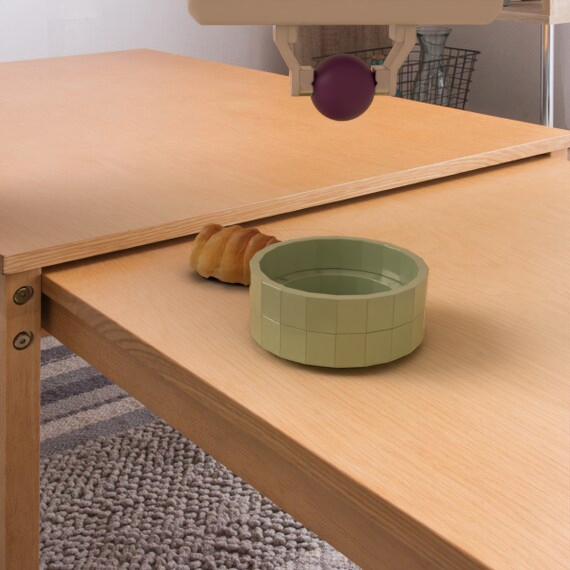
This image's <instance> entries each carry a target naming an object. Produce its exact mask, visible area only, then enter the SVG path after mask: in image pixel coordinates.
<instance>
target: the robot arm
mask: <svg viewBox="0 0 570 570" xmlns="http://www.w3.org/2000/svg"><path fill="white" fill-rule="evenodd" d="M504 1H505V0H186V10H187V13H188V15H189V16H190V17H191V18H192V19H193V20H194V21H195V22H196V24H198V25H200V26H272V41H273V42H274V44H275V46H276V48H277V50H278V51H279V53H280V55H281V57H282V58H283V61H284V62H285V64H286V67H288V79H289V80H288V88H289V89H288V90H289V95H290V97H292V98H293V97H294V98H295V97H297V98H298V97H310V96H313V93H314V87H313V85H312V82H313V81H314V70H315V68H313V67H312V65H300V63H299V60H297V58H296V56H295V54H294V52H293V50H292V48H291V47H290V44H296V43H297V41H298V26H388V38H389V39H390V40H392V41H394V42H395V43H394V44H393V46H392V47H391V49H390V51H389V53H388V54H387V56H386V58H385V60H384V62H383V63H382V64H380V65H379V64H378V65H375V64H374V65H370V69H371V71H372V73H373V75H374V79H375V94H374V97H375V96H380V97H381V96H383V97H384V96H389V97H390V96H391V97H392V96H393V97H394V96H396V94H397V87H398V86H397V84H398V71H399V70H400V69H401V67H402V66H403V64H404V62H405V61H406V59H407V58H408V56H409V55H410V53H411V51H412V50H413V48H414V47H415V45H416V44H417V32H418V31H417V30H418V25H419V26H423V25H424V26H425V25H426V26H427V25H428V26H431V25H432V26H436V25H439V26H440V25H442V26H443V25H445V26H446V25H447V26H448V25H449V26H450V25H453V26H454V25H456V26H457V25H460V26H461V25H462V26H464V25H467V26H468V25H471V26H473V25H474V26H475V25H490V24H492V23H493V22H494V20H495V19H496V18H497V17H498V16H499V14H500V13H501V12H502V10H503V9H504Z"/></svg>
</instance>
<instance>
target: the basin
mask: <svg viewBox="0 0 570 570" xmlns="http://www.w3.org/2000/svg"><path fill="white" fill-rule="evenodd" d="M281 241H282V242H278V243H275V244H271V245H269V246H267V247H265V248H264V249H262V250H260V251H258V252H256V254H255V255H254V256H253V258H252V259H251V260H250V263H249V284H248V286H249V288H248V289H249V291H248V292H249V296H248V297H249V303H248V305H249V306H248V307H249V309H248V310H249V311H248V312H249V313H248V314H249V320H248V321H249V331H250V336H251V337H252V339H253V340H254V341H255V342H256V343H257V344H258V345H259V347H261V348H262V349H264V350H265V351H268V352H270V354H271V353H272V354H274V355H275V356H277V357H280V358H281V359H284V360H288V361H292V362H296V363H300V364H302V365H309V366H314V367H322V368H332V369H349V368H350V369H351V368H352V369H353V368H364V367H370V366H371V367H372V366H376V365H382V364H386V363H390V362H394V361H396V360H398V359H400V358H403V357H405V356H407V355H409V354H411V353H413V351H414V350H416V349H417V348H418V347H419V346H420V345H421V344H422V343H423V340H424V339H423V338H424V335H425V328H426V327H425V326H426V313H427V301H428V289H429V288H428V287H429V275H430V267H429V265H428V264H427V263H426V261H425V260H424V259H423V257H421V256H420V255H418V254H417V253H415V252H414V251H411V250H410V249H408V248H405V247H402V246H400V245H396V244H393V243H390V242H387V241H383V240H376V239H372V238H367V237H359V236H348V235H347V236H346V235H314V236H313V235H312V236H306V237H297V238H290V239H286V240H281Z"/></svg>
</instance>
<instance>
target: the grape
mask: <svg viewBox="0 0 570 570" xmlns="http://www.w3.org/2000/svg"><path fill="white" fill-rule="evenodd" d="M312 85H313V87H314V93H313V96H309V97H310V100H311V103H312V104H313V106H314V108H315V109H316V110H317V111H318V113H320V114H321V115H322V116H323V117H325V118H327V119H329V120H331V121H335V122H349V121H352V120H355V119H358V118H359V117H360V116H362V115H364V114H365V113H366V112H367V110H369V108H370V106H371V105H372V103H373V101H374V99H375V96H374V94H375V79H374V75H373V73H372V71H371V67H370V66H369V65H368V63H366V62H365V61H364V60H363V59H361V58H360V57H358V56H356V55H353V54H350V53H336V54H333V55H329V56H327V57H326V58H324V59H322V60H321V61H320V62H319V63H318V64H317V65H316V66H315V68H314V81H313V82H312Z"/></svg>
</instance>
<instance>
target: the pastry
mask: <svg viewBox="0 0 570 570" xmlns="http://www.w3.org/2000/svg"><path fill="white" fill-rule="evenodd" d="M282 241H283V240H280V239H277V238H276V236H274V235H270V234H266V233H262V232H261V230H259V229H258V228H256V227H248V228H245V227H243V226H241V225H239V224H233V225H231V226H227V227H225V226H222V225H221V224H219V223H214V222H210V223H208V224H205V225H204V226H203V227H201V229H200V231H199V232H198V234H197V235H196V237H195V239H194V241H193V244H192V246H191V250H190V255H189V261H188V265H189V266H190V268H192V269H193V270H194V271H196V273H198V274H199V275H200V277H204V278H206V279H209V277H213V278H216V279H218V281H220V282H225V283H230V284H235V283H238V284H242V285H244V286H245V287H247V286H249V263H250V260H251V259H252V258H253V256H254V255H255V254H256V252H258V251H260V250H262V249H264V248H265V247H267V246H269V245H271V244H275V243H278V242H282Z"/></svg>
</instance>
